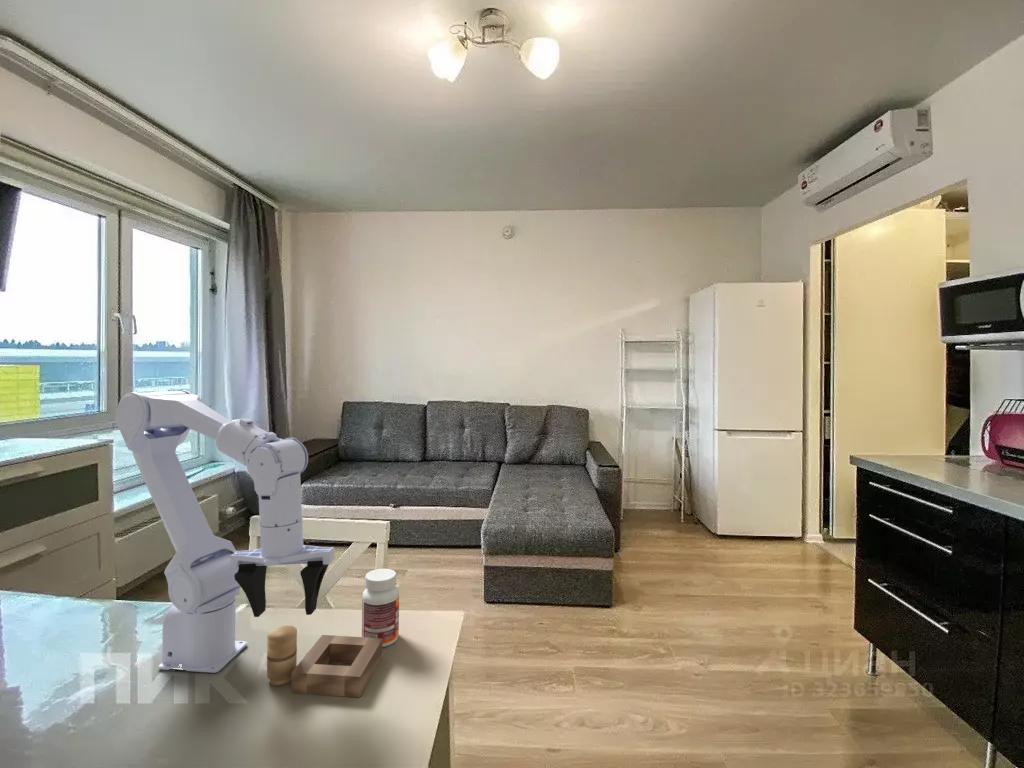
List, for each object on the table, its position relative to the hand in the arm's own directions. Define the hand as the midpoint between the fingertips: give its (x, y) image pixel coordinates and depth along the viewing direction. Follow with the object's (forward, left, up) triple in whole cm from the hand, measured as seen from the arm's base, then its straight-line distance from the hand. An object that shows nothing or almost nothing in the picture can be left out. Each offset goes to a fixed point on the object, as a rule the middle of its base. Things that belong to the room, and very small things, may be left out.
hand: (285, 612), depth 74 cm
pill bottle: (+11, +12, -10) cm, 19 cm away
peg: (0, 0, -10) cm, 10 cm away
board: (+8, +2, -10) cm, 13 cm away
